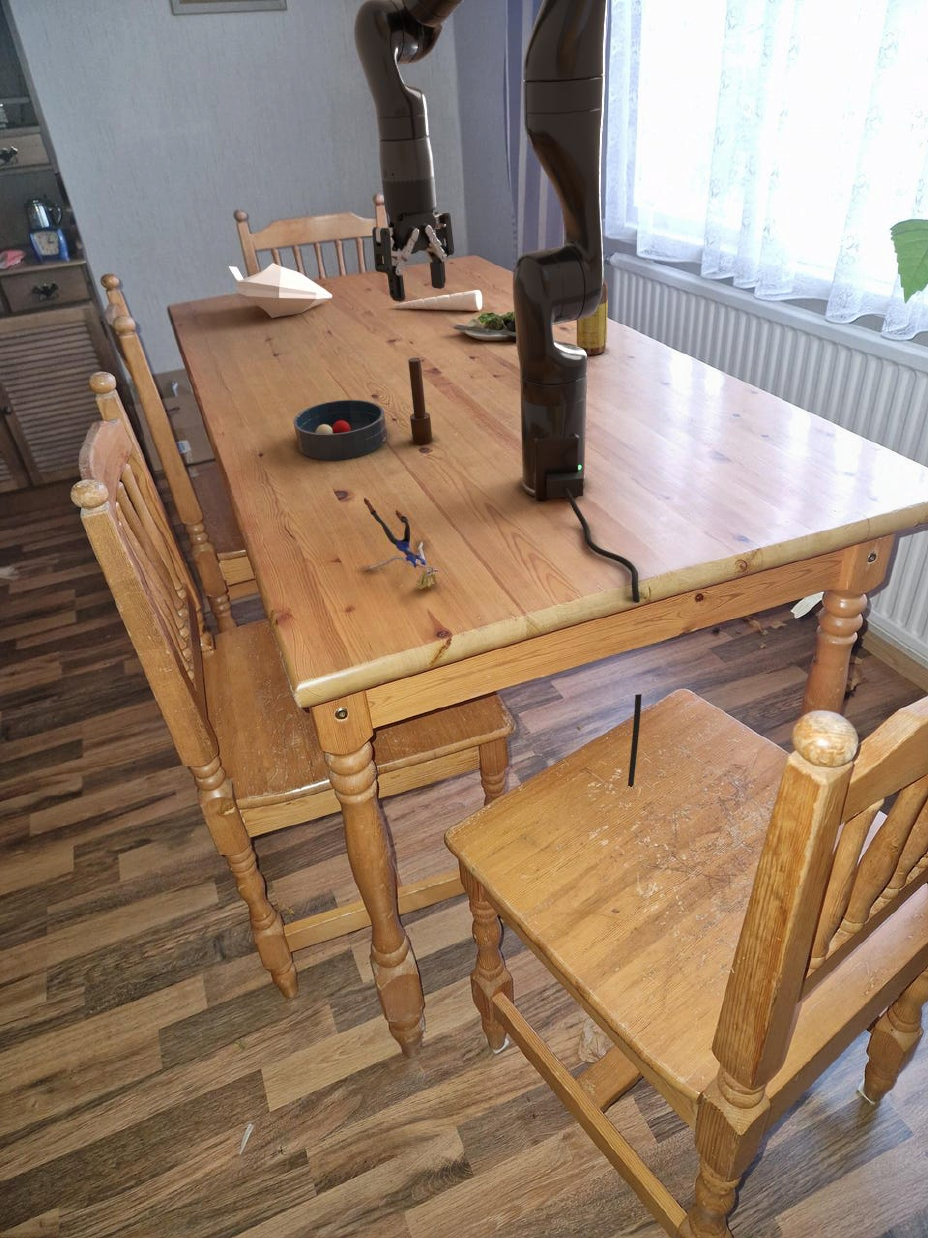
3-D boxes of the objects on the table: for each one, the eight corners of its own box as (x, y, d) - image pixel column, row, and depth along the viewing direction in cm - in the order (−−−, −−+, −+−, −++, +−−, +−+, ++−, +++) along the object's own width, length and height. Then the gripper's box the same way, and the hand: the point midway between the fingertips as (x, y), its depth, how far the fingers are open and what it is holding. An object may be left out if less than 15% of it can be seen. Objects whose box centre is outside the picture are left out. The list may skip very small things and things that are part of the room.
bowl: (384, 456, 134) (381, 431, 132) (292, 463, 134) (287, 437, 132) (389, 420, 147) (386, 396, 144) (304, 426, 147) (300, 402, 144)
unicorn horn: (398, 303, 210) (396, 284, 207) (484, 308, 202) (483, 287, 199) (390, 309, 206) (388, 289, 203) (477, 313, 198) (476, 293, 195)
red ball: (351, 421, 141) (348, 438, 142) (333, 418, 140) (331, 436, 141) (351, 422, 138) (349, 440, 139) (334, 419, 137) (331, 437, 138)
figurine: (411, 648, 103) (351, 545, 114) (469, 612, 103) (403, 513, 114) (385, 608, 94) (322, 500, 105) (448, 569, 95) (379, 466, 105)
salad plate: (448, 345, 179) (447, 324, 177) (459, 321, 193) (458, 301, 191) (536, 343, 177) (536, 322, 174) (540, 319, 191) (540, 299, 188)
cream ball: (320, 447, 139) (332, 443, 138) (309, 434, 138) (321, 430, 136) (327, 435, 141) (339, 431, 139) (316, 423, 139) (328, 418, 137)
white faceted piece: (348, 304, 213) (341, 253, 205) (284, 330, 197) (273, 276, 190) (280, 295, 225) (271, 247, 217) (214, 319, 209) (202, 268, 202)
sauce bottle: (586, 344, 174) (589, 245, 162) (612, 349, 170) (616, 247, 159) (569, 353, 170) (571, 252, 158) (595, 358, 166) (598, 255, 155)
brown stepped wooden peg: (432, 444, 137) (424, 362, 129) (412, 445, 137) (403, 363, 129) (432, 436, 140) (425, 355, 132) (412, 437, 140) (404, 356, 132)
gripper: (388, 183, 108) (402, 308, 118) (461, 168, 117) (468, 286, 126) (352, 181, 113) (368, 302, 122) (424, 166, 121) (434, 281, 130)
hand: (419, 293), depth 124 cm, fingers open, 8 cm apart
